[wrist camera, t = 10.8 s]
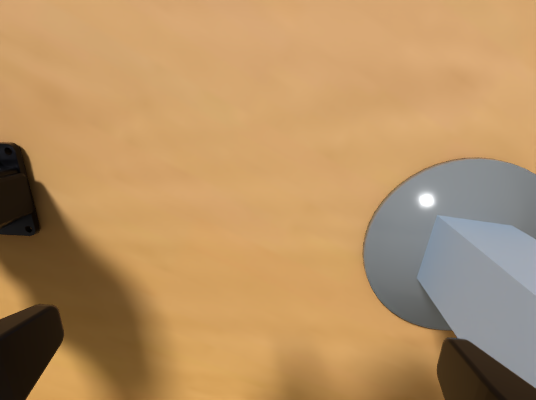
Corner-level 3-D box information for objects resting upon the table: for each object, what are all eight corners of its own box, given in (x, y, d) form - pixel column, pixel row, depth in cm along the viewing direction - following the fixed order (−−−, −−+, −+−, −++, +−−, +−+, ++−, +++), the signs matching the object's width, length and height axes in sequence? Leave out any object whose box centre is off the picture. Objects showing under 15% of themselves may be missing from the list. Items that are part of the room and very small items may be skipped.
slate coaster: (354, 318, 22) (355, 324, 22) (374, 155, 18) (376, 156, 18) (528, 329, 21) (534, 336, 21) (587, 160, 17) (597, 162, 17)
